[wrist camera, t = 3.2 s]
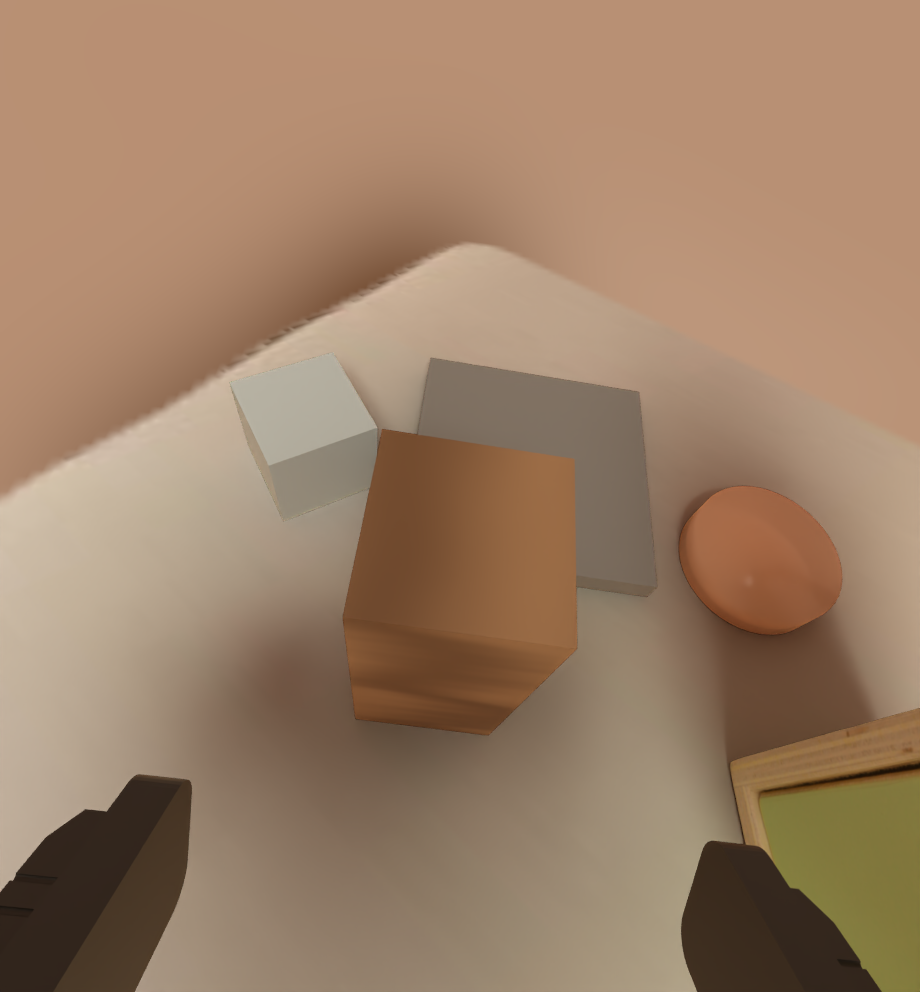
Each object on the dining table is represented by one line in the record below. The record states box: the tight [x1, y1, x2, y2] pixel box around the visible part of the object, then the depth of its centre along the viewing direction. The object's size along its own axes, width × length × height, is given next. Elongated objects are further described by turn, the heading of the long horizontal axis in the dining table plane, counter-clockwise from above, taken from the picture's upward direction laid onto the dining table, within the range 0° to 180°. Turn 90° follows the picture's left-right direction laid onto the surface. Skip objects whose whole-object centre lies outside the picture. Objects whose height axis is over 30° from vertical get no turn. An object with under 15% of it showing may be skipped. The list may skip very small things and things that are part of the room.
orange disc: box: [679, 486, 842, 635], centre depth 24 cm, size 6×6×2 cm
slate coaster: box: [418, 358, 657, 597], centre depth 25 cm, size 10×10×1 cm
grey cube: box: [229, 352, 378, 522], centre depth 23 cm, size 4×4×4 cm
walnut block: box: [343, 429, 577, 735], centre depth 16 cm, size 4×4×10 cm
